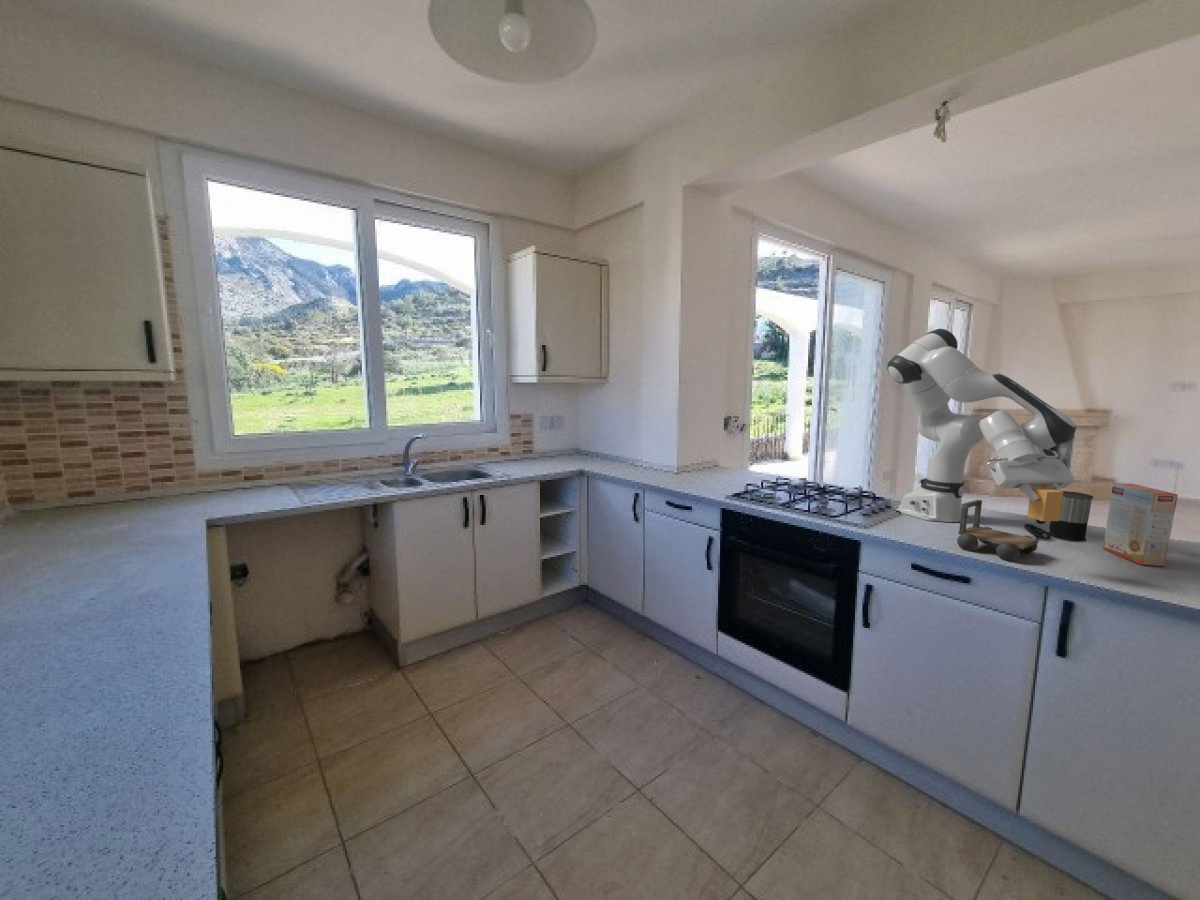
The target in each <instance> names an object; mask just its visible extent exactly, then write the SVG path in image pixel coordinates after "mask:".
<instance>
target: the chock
mask: <svg viewBox="0 0 1200 900" xmlns="http://www.w3.org/2000/svg"><path fill="white" fill-rule="evenodd" d="M1031 489H1032V490H1033V491H1034V492H1035V493H1039V495H1040V496H1041V499H1040V500H1039V501H1031V499H1030V498H1029V500H1028V508H1027V509H1028V510H1027V517H1028V518H1031V519H1035V520H1036V519H1037V520H1040V521H1046V522H1050V521H1059V519H1060V512H1061V505H1062V498H1063V492H1062V491H1063V490H1060V491H1057V490H1053V489H1049V488H1031Z"/></svg>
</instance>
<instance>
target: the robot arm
mask: <svg viewBox="0 0 1200 900" xmlns="http://www.w3.org/2000/svg"><path fill="white" fill-rule="evenodd" d="M958 345H959V344H958V340H957V338H956V336H955V335H954V334H953V333H952V332H950V331H949V330H948V329H945V328H937V329H936V328H935V329H934V330H931V331H928V332H927V333H926V334H925V335H923V336H921V337H920V338H917V339H916V340H915V341H913V342H911V343H910V344H909V345H908V346H906V347H905V348H904V349H902V350H901V351H900V352H899V353H898V354H897V355H896V354H895V355H894V356H893V357H892V358H891V359H890V360H889V361H888V363H887V365H886V366H887V367H886V368H887V369H886V370H887V372H888V374H889V376H890V377H891V378H892V379H893V380H894V382H897V383H898V384H902V385H903V386H904V388H905V391H906V392H907V394H908V396H909V397H910V399H911V400H912V402H913V403H914V406H915V407H916V409H917V411H918V416H919V420H918V421H917V431H918V433H919V434H920V435H921V436H922V437H924V438H925V439H928V440H930V441H932V442H933V441H934V442H939V446H938V448H937V451H936V452H935V453H933V454H932V455H931V456H930V457H928V461H927V462H928V463H927V471H926V472H927V474H926V477H925V478H921V480H918V481H919V482H918V484H920V487H918V488H915V489H914V490H912V491H910V492H908V493H906V494H904V495H903V497H902V499H901V500H900V504H899V505H897V506H898V507H899V508H897V509H896V510H898V511H900V512H901V513H900V514H903V515H906V516H910V517H914V518H916V519H917V518H918V519H921V520H925V521H929V522H945V523H946V522H947V523H948V522H949V523H959V522H960V520H961V511H962V504H963V503H962V500H963V499H962V498H963V494H964V491H965V490H964V489H965V482H964V473H965V466H966V462H967V459H968V457H969V455H970V453H971V451H972V450H973V448H974V447H975V446H976V445H977V444H979V443H981V442H982V441H983V439H984V438H985V440H986V442H987V444H988V446H990V448H992V450H993V451H994V454H995V456H996V457H991V458H990V459H989V460H988V461H987V466H988V468H989V469H990V473H991V476H992V479H993V480H994V482H995V484H996V485H997V486H998V487H999V488H1000V489H1010V490H1011V489H1019V491H1020V492H1021V493H1023V495H1026V496H1027V497H1028V498H1029V500H1030V499H1031V501H1039V500H1040V499H1041V496H1040V495H1039V493H1035V492H1034V491H1033V490H1032V489H1031V488H1049V489H1053V490H1057V491H1061V490H1060V489H1065V488H1067V487H1069V486H1071V485H1072V484H1073V483H1075V477H1074V475H1073V474H1072V472H1071V471H1070V469H1069V467H1067V465H1066V464H1065V463H1064V462H1063V461H1062V460H1061V459H1058V457H1059V454H1058V452H1056V451H1055V450H1051V449H1052V448H1054V447H1056V446H1059V445H1062V444H1064V443H1067V442H1069V441H1072V440H1073V438H1074V436H1075V433H1076V430H1077V426H1076V424H1075V422H1074V421H1073V420H1072V419H1071V418H1070V417H1069V416H1068V415H1066V414H1065V413H1064V412H1062V411H1059V410H1058V409H1056V408H1054V407H1053V406H1051V405H1049V404H1048V403H1046V402H1045V401H1044V400H1042V399H1041V398H1039V397H1038V396H1037V395H1035V394H1034V393H1032V392H1031V391H1029V390H1028V389H1026V388H1025V387H1023V386H1022V385H1020V384H1019V383H1017V382H1016V381H1015V380H1013V379H1011V378H1010V377H1008V376H1006V375H1004V374H1001V373H997V374H996V373H995V374H991V373H988V372H986V371H984V370H982V369H980V368H979V367H978V366H977V365H976V364H975V363H974V362H973V361H972V360H971V359H970V358H969V357H967V356H966V355H965V354H963V353H962V352H961V351H960V350H959V349H958ZM997 397H999V398H1000V397H1001V398H1003V397H1004V398H1008V399H1010V400H1012V401H1013V402H1014V403H1016V404H1018V405H1019V406H1020V407H1022V408H1023V409H1025V410H1026V411H1027V412H1029V413H1030V414H1032V415H1033V416H1032V418H1031V419H1029V420H1027V421H1025V422H1023V423H1021V424H1019V423H1018V422H1017V421H1016V419H1015V418H1014V417H1013V416H1012V415H1011V414H1010V413H1009V412H1008V411H1007V410H1005V409H1000V410H995V411H993V412H990V413H988V414H987V415H985V416H984V417H982V418H981V419H980V418H978V417H976V416H972V415H970V414H963V413H955V412H953V411H952V410H951V409H950V406H949V402H950V401H951V399H952V400H953V401H955V402H958V403H974V402H975V403H976V402H979V401H983V400H986V399H987V400H988V399H992V398H997Z"/></svg>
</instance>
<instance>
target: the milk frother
mask: <svg viewBox="0 0 1200 900" xmlns="http://www.w3.org/2000/svg"><path fill="white" fill-rule="evenodd" d="M1061 491H1062V492H1063V498H1062V505H1061V512H1060V519H1059V521H1049V526H1048V527H1049V528H1048V529H1049V531H1047V530H1044V529H1042V528H1041V527H1039V526H1036V525H1034V524H1031V523H1025V524H1024V525H1023V527H1024V529H1025V531H1026V532H1028V533H1029V534H1031V535H1032V536H1034V537H1035V539H1042V540H1050V539H1051V538H1054V539H1059V540H1062V541H1068V542H1069V541H1070V542H1075V543H1076V542H1077V543H1080V542H1081V543H1082V542H1083V543H1084V542H1087V539H1086V538H1087V529H1088V522H1089V518H1090V512H1091V507H1092V500H1093V499H1094V496H1093V495H1091V494H1086V493H1083V492H1078V491H1067V490H1061ZM1035 520H1036V522H1035V523H1036V524H1040V525H1043V524H1046V523H1047V521H1040V520H1037V519H1035ZM1051 536H1052V537H1051Z"/></svg>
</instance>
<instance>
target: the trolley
mask: <svg viewBox="0 0 1200 900" xmlns="http://www.w3.org/2000/svg"><path fill="white" fill-rule="evenodd" d="M982 504H983V500H981V499H975V500H971V501H968V502H964V503H962V511H961V520H960V523H959V530H958V535H959V536H958V537H957V540H956V542H957V545H958V546H959V548H961V549H962V550H964V551H967V552H968V551H969V552H970V551H973V550H976V549H977V548H978V546H979V541H980V542H981V543H982V542H983V543H982V544H986V543H988V544H991V543H992V544H993V543H994V544H999V545H998V546H997V547H996V550H995V551H996V555H997V557H999V558H1000V559H1001V560H1003V561H1005V560H1006V562H1012V561H1015V560H1017V559H1018V558H1019V557H1020V553H1023V552H1024V553H1023V554H1030V553H1033V552H1035V551H1037V549H1038V544H1039V538H1033V537H1032V536H1030V535H1019V534H1015V533H1010V532H1005V531H1001V530H997V529H993V528H991V527H988V526H984V527H983V526H980V521H981V515H982V514H981V513H982ZM972 507H974V514H973V521H972V522H973V523H972V526H971V527H967V522H968V512H969V509H970V508H972Z"/></svg>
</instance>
